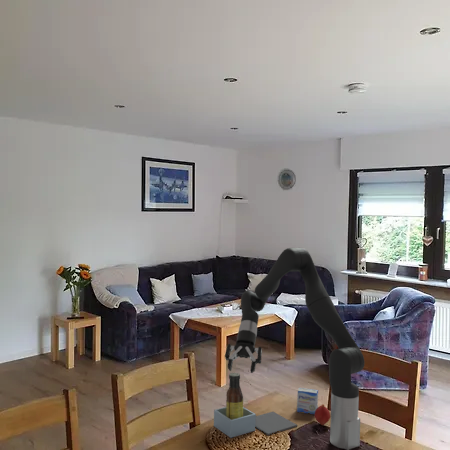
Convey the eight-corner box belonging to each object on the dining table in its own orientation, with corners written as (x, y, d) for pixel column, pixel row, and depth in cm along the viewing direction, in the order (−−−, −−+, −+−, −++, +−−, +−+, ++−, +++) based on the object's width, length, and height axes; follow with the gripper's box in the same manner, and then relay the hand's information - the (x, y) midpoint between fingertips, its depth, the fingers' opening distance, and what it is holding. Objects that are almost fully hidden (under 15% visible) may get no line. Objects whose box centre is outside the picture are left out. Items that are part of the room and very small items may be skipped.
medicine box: (296, 412, 188) (297, 390, 188) (298, 407, 192) (298, 387, 192) (316, 415, 186) (317, 393, 186) (317, 410, 190) (318, 389, 190)
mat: (297, 426, 175) (297, 424, 175) (268, 435, 167) (268, 433, 167) (272, 412, 187) (272, 411, 187) (244, 420, 179) (244, 419, 179)
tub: (255, 430, 171) (255, 414, 171) (230, 437, 165) (231, 420, 165) (237, 419, 180) (238, 403, 180) (213, 425, 174) (214, 409, 174)
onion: (311, 424, 177) (311, 403, 177) (319, 420, 181) (320, 399, 181) (324, 429, 173) (325, 408, 173) (332, 425, 177) (333, 404, 177)
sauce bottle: (246, 428, 173) (248, 374, 172) (235, 433, 168) (236, 378, 168) (233, 422, 177) (234, 370, 177) (222, 427, 172) (223, 374, 172)
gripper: (228, 327, 191) (221, 364, 180) (263, 330, 187) (257, 368, 176) (231, 337, 196) (224, 373, 185) (265, 340, 193) (259, 377, 182)
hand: (240, 370), depth 181 cm, fingers open, 8 cm apart
